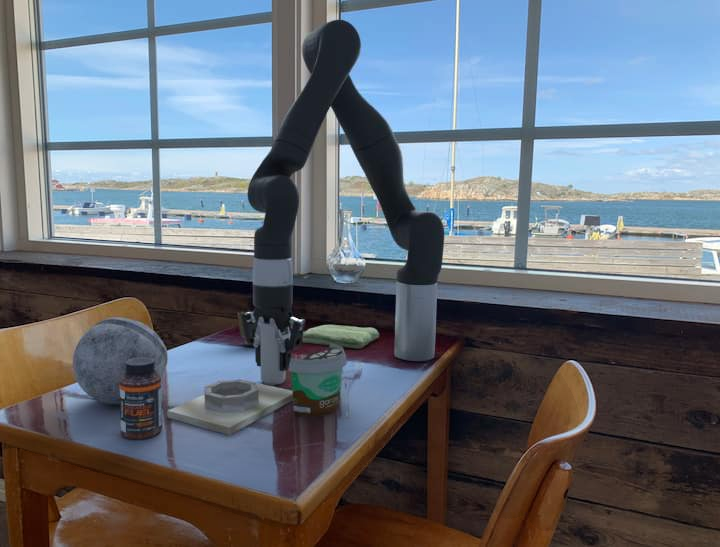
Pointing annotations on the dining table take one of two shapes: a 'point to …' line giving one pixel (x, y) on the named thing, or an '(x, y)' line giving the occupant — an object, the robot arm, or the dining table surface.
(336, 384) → the food container
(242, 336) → the cup
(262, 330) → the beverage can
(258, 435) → the dining table surface
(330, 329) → the washcloth
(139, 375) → the supplement bottle
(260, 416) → the holder board
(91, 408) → the dining table surface
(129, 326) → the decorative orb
